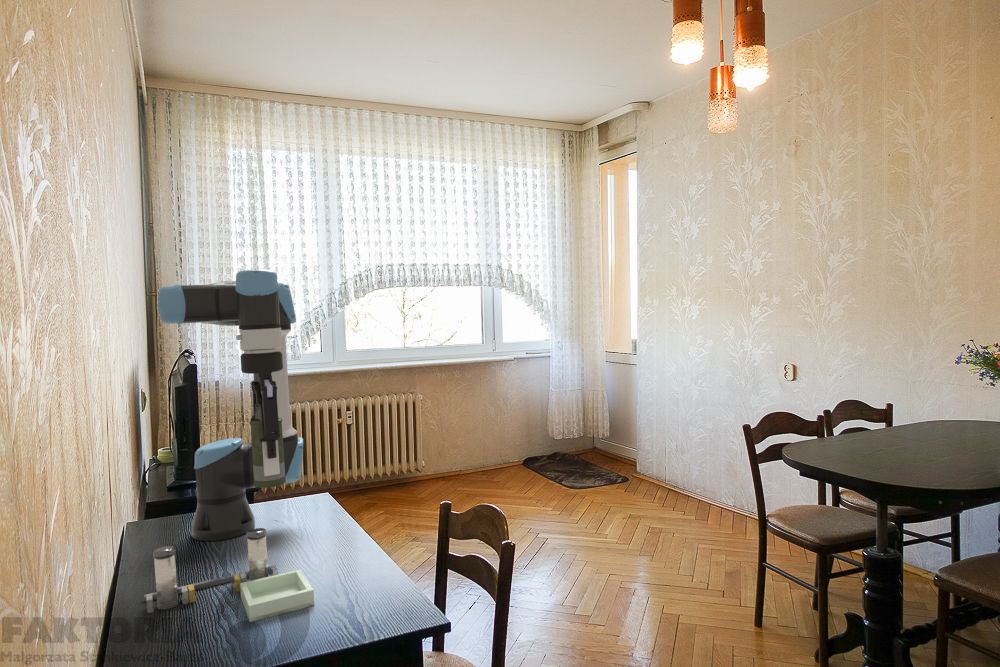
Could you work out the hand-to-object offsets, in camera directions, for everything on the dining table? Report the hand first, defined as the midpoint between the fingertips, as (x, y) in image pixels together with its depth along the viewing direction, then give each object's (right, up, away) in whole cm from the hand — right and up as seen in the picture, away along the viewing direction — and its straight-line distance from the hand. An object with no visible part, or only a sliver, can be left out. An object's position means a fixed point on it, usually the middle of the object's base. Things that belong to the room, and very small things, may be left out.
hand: (268, 470), depth 125 cm
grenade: (0, -3, 0) cm, 3 cm away
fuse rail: (-14, -26, +8) cm, 30 cm away
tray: (+1, -26, +1) cm, 26 cm away
